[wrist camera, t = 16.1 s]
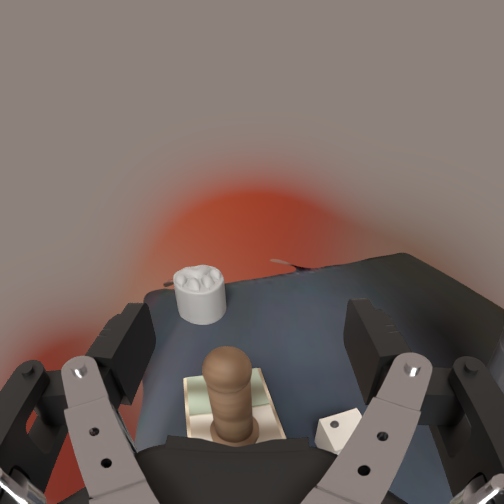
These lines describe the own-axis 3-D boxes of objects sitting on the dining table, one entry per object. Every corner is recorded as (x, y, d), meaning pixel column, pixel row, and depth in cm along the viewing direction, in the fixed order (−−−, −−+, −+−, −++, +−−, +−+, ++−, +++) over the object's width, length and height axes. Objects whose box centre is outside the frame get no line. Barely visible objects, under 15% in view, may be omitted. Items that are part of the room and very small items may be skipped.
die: (314, 441, 32) (319, 417, 31) (349, 430, 33) (357, 405, 31) (328, 470, 28) (335, 448, 26) (364, 457, 29) (375, 434, 27)
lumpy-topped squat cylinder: (218, 291, 72) (215, 257, 69) (233, 319, 61) (231, 281, 58) (175, 299, 69) (170, 265, 66) (183, 329, 58) (177, 290, 55)
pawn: (228, 409, 37) (217, 327, 32) (267, 426, 34) (267, 343, 29) (201, 438, 32) (181, 358, 27) (243, 459, 29) (234, 381, 24)
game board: (184, 383, 43) (183, 376, 43) (260, 373, 46) (259, 366, 45) (211, 583, 14) (209, 582, 13) (333, 559, 16) (335, 557, 16)
